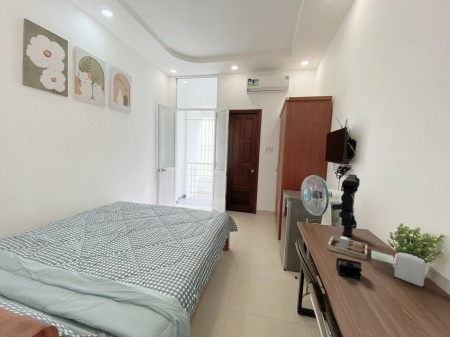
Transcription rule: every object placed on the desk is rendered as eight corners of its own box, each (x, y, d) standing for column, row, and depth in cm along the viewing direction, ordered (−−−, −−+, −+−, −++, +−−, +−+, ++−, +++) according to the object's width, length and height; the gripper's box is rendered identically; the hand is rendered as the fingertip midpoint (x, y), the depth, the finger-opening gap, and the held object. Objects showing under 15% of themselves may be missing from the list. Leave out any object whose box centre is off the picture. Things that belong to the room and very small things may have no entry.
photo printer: (392, 276, 98) (395, 251, 97) (395, 273, 101) (397, 249, 99) (422, 288, 90) (426, 261, 89) (424, 284, 93) (427, 258, 92)
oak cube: (352, 247, 126) (353, 241, 126) (360, 249, 125) (361, 243, 124) (353, 250, 123) (354, 244, 122) (361, 252, 121) (362, 245, 121)
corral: (331, 239, 138) (332, 235, 137) (367, 248, 126) (367, 244, 126) (327, 249, 124) (327, 245, 123) (366, 260, 112) (366, 255, 112)
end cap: (358, 272, 100) (359, 259, 100) (362, 281, 94) (363, 267, 93) (335, 267, 104) (336, 255, 103) (337, 275, 98) (338, 262, 97)
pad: (371, 251, 122) (371, 250, 122) (393, 257, 116) (393, 256, 116) (371, 258, 114) (371, 257, 114) (394, 264, 108) (394, 263, 108)
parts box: (339, 245, 129) (340, 235, 129) (348, 247, 127) (348, 237, 126) (338, 247, 126) (339, 238, 125) (347, 250, 123) (348, 240, 122)
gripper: (335, 196, 137) (333, 219, 138) (330, 200, 122) (328, 226, 123) (354, 199, 131) (352, 222, 132) (352, 204, 116) (350, 231, 117)
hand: (345, 225), depth 126 cm, fingers open, 9 cm apart
